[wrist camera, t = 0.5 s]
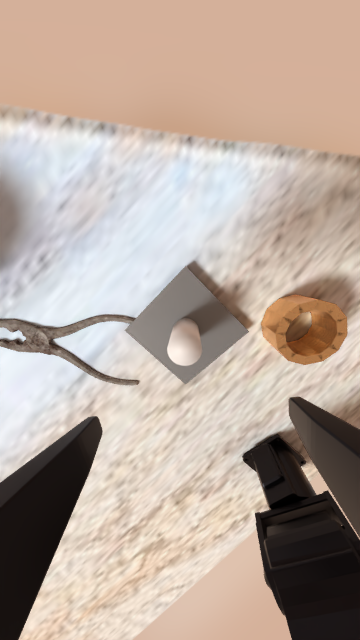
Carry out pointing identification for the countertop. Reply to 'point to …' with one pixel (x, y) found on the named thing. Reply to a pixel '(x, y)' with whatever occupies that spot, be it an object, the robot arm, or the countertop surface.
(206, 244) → the countertop surface
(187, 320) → the grey peg stand
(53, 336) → the pliers
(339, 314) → the ring
